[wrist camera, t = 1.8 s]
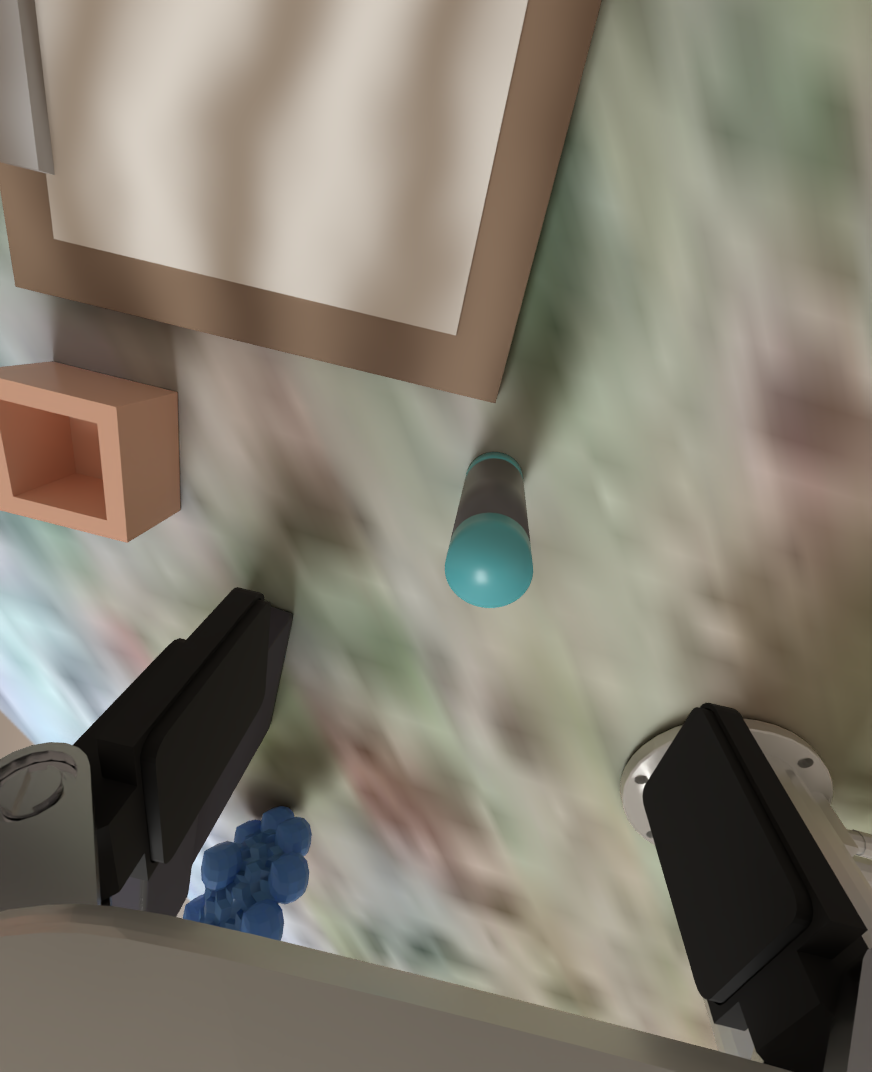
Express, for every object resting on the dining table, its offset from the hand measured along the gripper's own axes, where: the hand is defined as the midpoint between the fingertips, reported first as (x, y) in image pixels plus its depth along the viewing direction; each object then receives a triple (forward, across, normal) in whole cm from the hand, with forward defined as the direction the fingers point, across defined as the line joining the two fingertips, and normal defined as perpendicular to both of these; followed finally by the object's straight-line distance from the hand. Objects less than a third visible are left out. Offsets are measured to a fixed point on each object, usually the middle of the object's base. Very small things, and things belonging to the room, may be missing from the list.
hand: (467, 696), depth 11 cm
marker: (+16, -1, +1) cm, 16 cm away
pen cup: (+17, +20, +4) cm, 27 cm away
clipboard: (+17, +12, -12) cm, 24 cm away
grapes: (+16, +9, +32) cm, 37 cm away
